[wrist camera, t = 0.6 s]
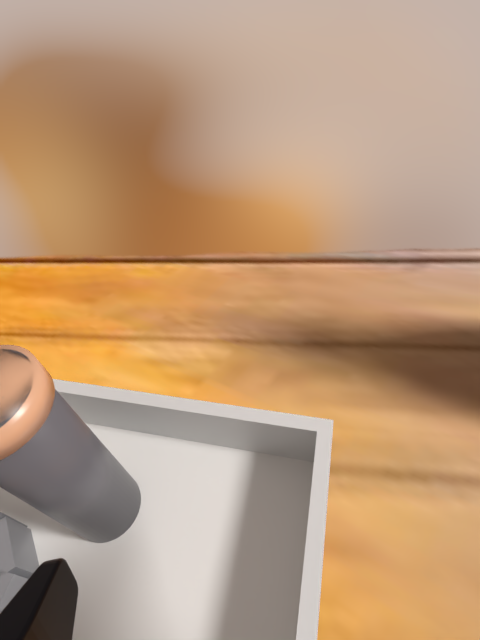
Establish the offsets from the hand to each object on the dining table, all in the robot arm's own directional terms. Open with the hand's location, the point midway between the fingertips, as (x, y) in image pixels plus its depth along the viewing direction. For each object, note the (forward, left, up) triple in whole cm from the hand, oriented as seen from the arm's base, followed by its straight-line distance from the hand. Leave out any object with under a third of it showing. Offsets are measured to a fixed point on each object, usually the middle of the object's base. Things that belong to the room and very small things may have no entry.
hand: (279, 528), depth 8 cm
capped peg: (+3, +11, -15) cm, 19 cm away
